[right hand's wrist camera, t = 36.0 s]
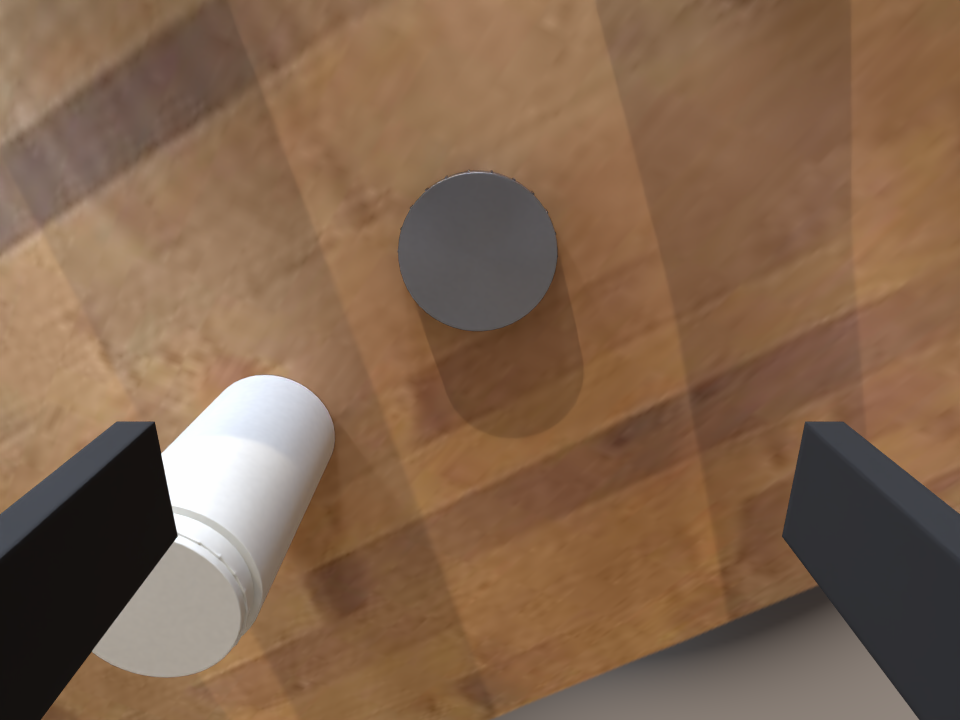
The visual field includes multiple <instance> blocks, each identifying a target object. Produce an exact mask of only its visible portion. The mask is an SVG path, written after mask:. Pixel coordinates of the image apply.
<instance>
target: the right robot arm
mask: <svg viewBox="0 0 960 720" xmlns="http://www.w3.org/2000/svg"><path fill="white" fill-rule="evenodd" d="M177 537H178V534H177V529H176V524H175V520H174V515H173V510H172V505H171V500H170V495H169V490H168V485H167V480H166V475H165V470H164V465H163V460H162V455H161V450H160V445H159V440H158V435H157V430H156V425H155V422H116V423H115V424H113V425H112V426H111V427H110V428H108V429H107V430H106V431H104V432H103V433H102V434H101V435H99V436H98V437H97V438H96V439H94V440H93V441H92V442H91V443H89V444H88V445H87V446H86V447H84V448H83V449H82V450H81V451H79V452H78V453H77V454H76V455H74V456H73V457H72V458H70V459H69V460H68V461H67V462H65V463H64V464H63V465H62V466H60V467H59V468H58V469H57V470H55V471H54V472H53V473H52V474H50V475H49V476H48V477H47V478H45V479H44V480H43V481H42V482H40V483H39V484H38V485H37V486H35V487H34V488H33V489H31V490H30V491H29V492H28V493H26V494H25V495H24V496H23V497H21V498H20V499H19V500H18V501H16V502H15V503H14V504H13V505H11V506H10V507H9V508H8V509H6V510H5V511H4V512H3V513H1V514H0V720H41V719H42V717H43V716H44V715H45V713H46V712H47V710H48V709H49V708H50V706H51V705H52V704H53V702H54V701H55V700H56V698H57V697H58V696H59V694H60V693H61V692H62V690H63V689H64V688H65V686H66V685H67V684H68V682H69V681H70V680H71V678H72V677H73V676H74V674H75V673H76V672H77V670H78V669H79V668H80V666H81V665H82V664H83V662H84V661H85V660H86V658H87V657H88V656H89V654H90V653H91V652H92V650H93V649H94V648H95V646H96V645H97V644H98V642H99V641H100V640H101V638H102V637H103V636H104V634H105V633H106V632H107V630H108V629H109V628H110V626H111V625H112V624H113V622H114V621H115V620H116V618H117V617H118V616H119V614H120V613H121V612H122V610H123V609H124V608H125V606H126V605H127V604H128V602H129V601H130V600H131V598H132V597H133V596H134V594H135V593H136V592H137V590H138V589H139V588H140V586H141V585H142V584H143V582H144V581H145V580H146V578H147V577H148V576H149V574H150V573H151V572H152V570H153V569H154V568H155V566H156V565H157V564H158V562H159V561H160V560H161V558H162V557H163V556H164V554H165V553H166V552H167V550H168V549H169V548H170V546H171V545H172V544H173V542H174V541H175V540H176V538H177ZM782 537H783V538H784V540H785V541H786V542H787V544H788V545H789V546H790V548H791V549H792V550H793V552H794V553H795V554H796V556H797V557H798V558H799V560H800V561H801V562H802V564H803V565H804V566H805V568H806V569H807V570H808V572H809V573H810V574H811V576H812V577H813V578H814V580H815V581H816V582H817V584H818V585H819V586H820V588H821V589H822V590H823V592H824V593H825V594H826V596H827V597H828V598H829V600H830V601H831V602H832V604H833V605H834V606H835V608H836V609H837V610H838V612H839V613H840V614H841V616H842V617H843V618H844V620H845V621H846V622H847V624H848V625H849V626H850V628H851V629H852V630H853V632H854V633H855V634H856V636H857V637H858V638H859V640H860V641H861V642H862V644H863V645H864V646H865V648H866V649H867V650H868V652H869V653H870V654H871V656H872V657H873V658H874V660H875V661H876V662H877V664H878V665H879V666H880V668H881V669H882V670H883V672H884V673H885V674H886V676H887V677H888V678H889V680H890V681H891V682H892V684H893V685H894V686H895V688H896V689H897V690H898V692H899V693H900V694H901V696H902V697H903V698H904V700H905V701H906V702H907V704H908V705H909V706H910V708H911V709H912V710H913V712H914V713H915V715H916V716H917V717H918V718H919V720H960V514H959V513H957V512H956V511H955V510H954V509H952V508H951V507H950V506H949V505H947V504H946V503H945V502H944V501H942V500H941V499H940V498H939V497H937V496H936V495H935V494H934V493H932V492H931V491H930V490H929V489H927V488H926V487H925V486H923V485H922V484H921V483H920V482H918V481H917V480H916V479H915V478H913V477H912V476H911V475H910V474H908V473H907V472H906V471H905V470H903V469H902V468H901V467H900V466H898V465H897V464H896V463H895V462H893V461H892V460H891V459H890V458H888V457H887V456H886V455H884V454H883V453H882V452H881V451H879V450H878V449H877V448H876V447H874V446H873V445H872V444H871V443H869V442H868V441H867V440H866V439H864V438H863V437H862V436H861V435H859V434H858V433H857V432H856V431H854V430H853V429H852V428H850V427H849V426H848V425H847V424H845V423H844V422H805V425H804V430H803V435H802V440H801V445H800V450H799V455H798V460H797V465H796V470H795V475H794V480H793V485H792V490H791V495H790V500H789V505H788V510H787V515H786V520H785V524H784V529H783V534H782Z"/></svg>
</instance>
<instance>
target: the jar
mask: <svg viewBox="0 0 960 720" xmlns="http://www.w3.org/2000/svg"><path fill="white" fill-rule="evenodd" d="M334 444H335V431H334V425H333V422H332V419H331V417H330V414H329V412H328V410H327V409H326V407H325V406H324V404H323V403H322V402H321V401H320V399H319V398H318V397H317V396H316V395H315V394H314V393H313V392H311V391H310V390H309V389H307V388H306V387H304V386H302V385H301V384H299V383H297V382H295V381H292V380H290V379H287V378H283V377H279V376H272V375H259V376H252V377H248V378H245V379H242V380H239V381H237V382H235V383H233V384H232V385H231V386H229V387H228V388H227V389H225V390H224V391H223V392H222V393H221V394H220V395H219V396H218V397H217V398H216V399H215V400H214V401H213V402H212V403H211V404H210V405H209V406H208V407H207V408H206V409H205V410H204V411H203V412H202V413H201V414H200V415H199V416H198V417H197V418H196V419H195V420H194V421H193V422H192V423H191V424H190V425H189V426H188V427H187V428H186V429H185V430H184V431H183V432H182V433H181V434H180V435H179V436H178V437H177V438H176V439H175V441H174V442H173V443H172V444H171V445H170V446H169V447H168V448H167V449H166V450H165V451H164V452H163V453H162V454H161V455H162V460H163V465H164V470H165V475H166V480H167V485H168V490H169V495H170V500H171V505H172V510H173V515H174V520H175V524H176V529H177V534H178V537H177V538H176V540H175V541H174V542H173V544H172V545H171V546H170V548H169V549H168V550H167V552H166V553H165V554H164V556H163V557H162V558H161V560H160V561H159V562H158V564H157V565H156V566H155V568H154V569H153V570H152V572H151V573H150V574H149V576H148V577H147V578H146V580H145V581H144V582H143V584H142V585H141V586H140V588H139V589H138V590H137V592H136V593H135V594H134V596H133V597H132V598H131V600H130V601H129V602H128V604H127V605H126V606H125V608H124V609H123V610H122V612H121V613H120V614H119V616H118V617H117V618H116V620H115V621H114V622H113V624H112V625H111V626H110V628H109V629H108V630H107V632H106V633H105V634H104V636H103V637H102V638H101V640H100V641H99V642H98V644H97V645H96V646H95V648H94V649H93V650H92V652H93V653H94V654H95V655H97V656H98V657H100V658H101V659H103V660H105V661H106V662H108V663H110V664H111V665H113V666H116V667H119V668H121V669H123V670H126V671H129V672H132V673H136V674H140V675H145V676H152V677H166V678H167V677H181V676H187V675H191V674H195V673H198V672H201V671H203V670H206V669H208V668H210V667H211V666H213V665H215V664H216V663H218V662H219V661H220V660H222V659H223V658H224V657H225V656H226V655H227V654H228V653H229V652H230V651H231V649H232V648H233V647H234V646H235V645H237V643H238V641H239V640H240V638H241V636H242V635H244V634H245V633H246V632H247V631H248V629H249V628H250V627H251V626H252V624H253V623H254V621H255V620H256V618H257V616H258V614H259V611H260V609H261V607H262V605H263V603H264V601H265V598H266V596H267V594H268V592H269V590H270V588H271V585H272V583H273V581H274V579H275V577H276V575H277V572H278V570H279V568H280V566H281V564H282V562H283V559H284V557H285V555H286V553H287V551H288V549H289V546H290V544H291V542H292V540H293V538H294V536H295V533H296V531H297V529H298V527H299V525H300V523H301V520H302V518H303V516H304V514H305V512H306V510H307V507H308V505H309V503H310V501H311V499H312V496H313V494H314V492H315V490H316V488H317V486H318V483H319V481H320V479H321V477H322V475H323V473H324V470H325V468H326V466H327V464H328V462H329V460H330V457H331V455H332V453H333V449H334Z"/></svg>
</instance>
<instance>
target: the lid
mask: <svg viewBox="0 0 960 720" xmlns="http://www.w3.org/2000/svg"><path fill="white" fill-rule="evenodd" d="M547 213H548V211H547V210H546V209H544V207H543V206H542V204H541V203H540V202H539V200H538V199H537V198H536V197H535V196H534V193H533V192H532V191H531V192H530V191H529V190H528V189H527V188H526V187H524V186H523V185H522V184H520V183H519V182H517V181H515V179H514V178H509V177H507V176H505V175H502V174H498V173H495V172H493V171H492V170H491V172H489V171H470V170H468V171H466V172H461V173H457V174H454V175H451V176H449V177H448V175H447V176H446V177H445V178H444V179H442V180H440V181H439V182H437V183H435V184H434V185H433V186H431V187H430V188H427V189H426V190H425V192H424V193H423V195H422V196H421V197H420V198H419V199H418V200H417V201H416V202H415V204H414V205H412V206H411V207H410V211H409V213H408V215H407V216H406V218H405V221H404V223H403V226H402V227H401V229H400V230H401V233H400V237H399V246H398V258H399V266H400V271H401V275H402V277H403V280H404V283H405V285H406V287H407V289H408V291H409V292H410V294H411V296H412V297H413V299H414V300H415V301H416V302H417V303H418V305H419V306H420V307H421V308H422V309H423V310H424V311H425V312H426V313H428V314H429V315H430V316H432V317H433V318H435V319H436V320H438V321H440V322H442V323H444V324H446V325H448V326H451V327H454V328H458V329H461V330H468V331H488V330H494V329H498V328H502V327H505V326H507V325H510V324H512V323H514V322H516V321H518V320H519V319H521V318H522V317H524V316H525V315H527V314H528V313H529V312H530V311H531V310H532V309H533V308H535V307H536V305H537V304H538V303H539V302H540V301H541V299H542V298H543V297H544V295H545V293H546V292H547V290H548V288H549V286H550V284H551V282H552V279H553V276H554V273H555V269H556V263H557V257H558V255H557V240H556V232H555V231H554V228H553V225H552V222H551V219H550V218H549V216H548V214H547Z"/></svg>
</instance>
